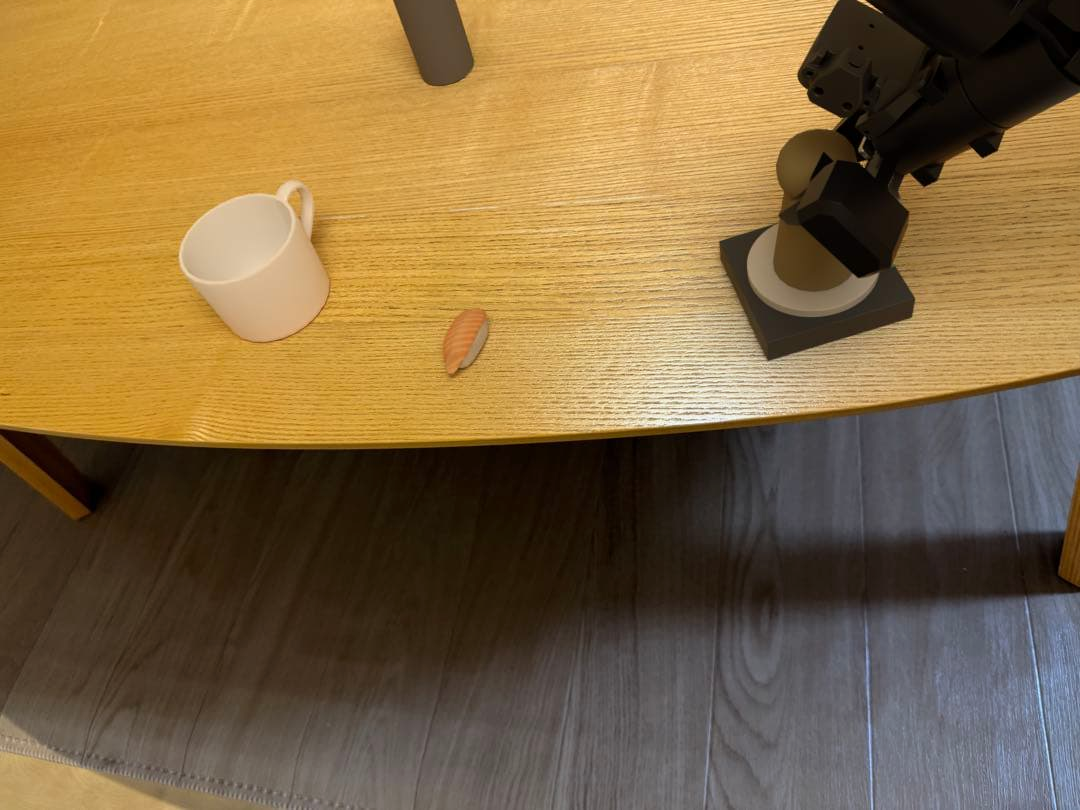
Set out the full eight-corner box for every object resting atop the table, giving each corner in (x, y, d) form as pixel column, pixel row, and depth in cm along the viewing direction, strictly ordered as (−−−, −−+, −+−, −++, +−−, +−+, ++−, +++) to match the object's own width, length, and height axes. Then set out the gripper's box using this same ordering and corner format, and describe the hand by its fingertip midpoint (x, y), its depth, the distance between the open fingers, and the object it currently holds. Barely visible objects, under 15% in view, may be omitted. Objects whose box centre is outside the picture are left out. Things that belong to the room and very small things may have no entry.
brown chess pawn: (842, 223, 72) (847, 105, 63) (868, 279, 68) (878, 163, 59) (763, 242, 72) (758, 128, 64) (785, 300, 69) (783, 187, 60)
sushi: (498, 322, 78) (489, 298, 75) (468, 384, 75) (457, 361, 72) (470, 317, 79) (460, 294, 76) (439, 378, 76) (427, 356, 73)
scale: (852, 218, 76) (854, 191, 73) (912, 317, 69) (916, 290, 67) (720, 259, 76) (718, 233, 74) (767, 361, 70) (767, 336, 67)
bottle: (412, 84, 99) (360, -51, 87) (435, 49, 102) (388, -87, 90) (460, 88, 97) (414, -50, 85) (483, 52, 99) (441, -87, 87)
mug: (283, 361, 80) (239, 300, 74) (201, 325, 85) (152, 264, 78) (376, 252, 85) (342, 186, 79) (293, 223, 90) (255, 158, 84)
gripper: (943, -120, 54) (762, 29, 67) (838, 89, 46) (657, 211, 59) (1063, 16, 57) (867, 133, 70) (984, 234, 49) (780, 319, 62)
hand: (796, 192), depth 66 cm, fingers closed on brown chess pawn, 5 cm apart
